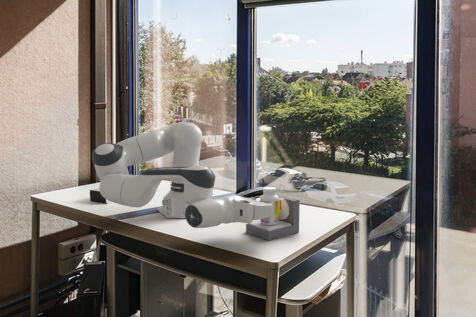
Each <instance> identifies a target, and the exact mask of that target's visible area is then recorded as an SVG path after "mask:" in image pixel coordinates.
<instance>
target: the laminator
mask: <svg viewBox="0 0 476 317" xmlns="http://www.w3.org/2000/svg"><path fill="white" fill-rule="evenodd" d="M89 199H90V200H89V201H90V202H93V203H100V204H104V203H105V205H109V204H112V201H109V200H107V199H105V198H104V197H103V196H102V195H101V193H100V189H99V187H98V188H93V189H92V188H91V189H89Z"/></svg>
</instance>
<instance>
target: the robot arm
mask: <svg viewBox="0 0 476 317" xmlns="http://www.w3.org/2000/svg"><path fill="white" fill-rule="evenodd" d="M202 141H203V133H202V131H201V129H200V127H199V126H198V125H196V124H195V123H193V122H186V121H185V122H184V121H179V122H175V123H171V124H169V125H166V126H163V127H161V128H157V129H155V130H152V131H148V132H145V133H141V134H138V135H135V136H132V137H129V138H125V139H124V140H122V141H119V142H117V143H114V142H105V143H102V144H99V145H98V146H96V147H95V148H94V149H93V150H92V152H91V160H92V163H93V165H94V169H95V172H96V175H97V177H98V180H99V181H100V182H99V186H98V188H99V189H100V193H101V195H102V196H103V197H104V198H105V199H107V200H109V201H112V202H113V203H115V204H118V205H121V206H125V207H130V208H142V207H144V206H146V205H148V204H149V203H150V202H151V201H152V199H153V198H154V197H155V195H156V192H157V190H158V189H159V185H160V184H161V182H162V181H170V182H169V183H170V184H169V185H170V190H169V191H168V192H167V193H166V195H164V196H163V199H162V201H161V204H162V206H160V207H158V208H157V212H158V213H160V214H161V215H162V216H164V217H165V218H167V219H185V220H186V222H187V224H188V225H189V226H190V227H192V228H194V229H205V228H207V229H208V228H213V227H218V226H220V225H222V224H224V225H225V224H232V223H241V224H248V223H252V222H253V221H257V220H260V219H264V218H267V217H270V216H271V215H272V213H273V208H274V207H275V204H274V203H272V202H270V203H268V204H267V203H264V202H260V201H259V200H257V198H255V197H244V196H241V195H238V194H231V195H230V194H229V195H225V196H220V197H219V198H213V197H214V196H213V195H214V186H215V181H216V175H215V172H214V171H213V170H212V169H211V168H210V167H209V166H205V165H200V158H201V157H200V156H201V147H202ZM171 153H173V157H172V162H171V167H170V166H168V167H167V166H166V167H151V168H146V169H143V170H142V171H141V173H140V174H137V175H135V174H130V173H129V169H128V168H129V166H135V165H140V164H143V163H146V162H149V161H152V160H156V159H159V158H162V157H164V156H166V155H168V154H171Z"/></svg>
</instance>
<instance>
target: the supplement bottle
mask: <svg viewBox="0 0 476 317" xmlns="http://www.w3.org/2000/svg"><path fill="white" fill-rule="evenodd" d="M262 192H263V194H261V195H260V198H259V200H260V202H264V203H267V204H268V203H270V202H272V203H274V204H275V207H274V208H273V213H272V215H271V216H270V217H267V218H264V219H260V222H261V223H262V224H263V225H276V224H278V223H279V197H278V196H277V195H278V194H277V195H276V193H277V188H276V187H274V186H273V187H272V186H265V187H263V188H262Z"/></svg>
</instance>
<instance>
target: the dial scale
mask: <svg viewBox="0 0 476 317" xmlns="http://www.w3.org/2000/svg"><path fill="white" fill-rule="evenodd" d="M276 195H277V196H278V197H279V223H278V224H276V225H263V224H262V223H261V222H260V220H253V222H252V223H245V232H246V233H247V234H250V235H252V236H256V237H258V238H260V239H264V240H266V241H272V240H276V239H279V238H283V237H287V236H291V235H293V234H297V233H299V232H300V204H301V203H300V199H299V198H293V197H289V196H285V195H281V194H276Z"/></svg>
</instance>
